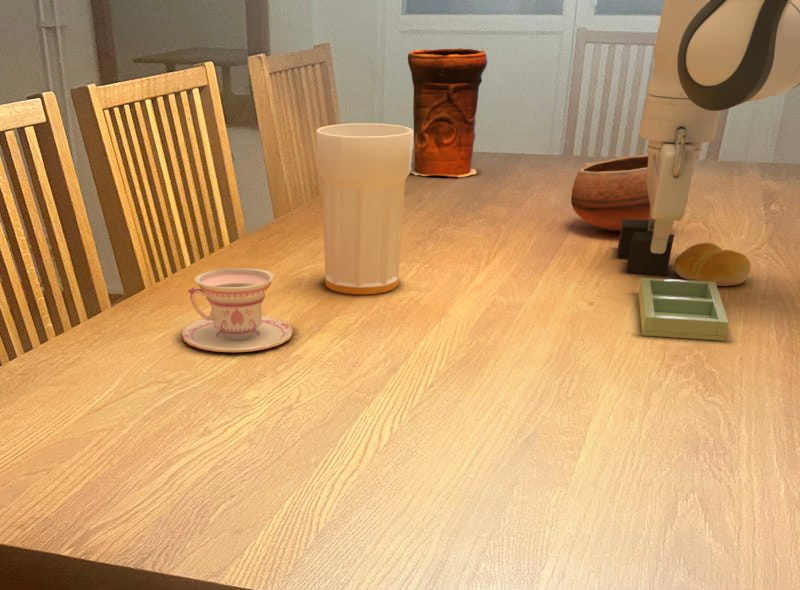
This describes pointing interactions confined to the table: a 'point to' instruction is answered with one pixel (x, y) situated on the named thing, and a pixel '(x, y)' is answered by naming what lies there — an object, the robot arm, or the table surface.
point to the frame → (682, 309)
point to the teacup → (235, 312)
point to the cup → (363, 203)
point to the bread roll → (712, 265)
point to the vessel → (445, 109)
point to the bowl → (612, 192)
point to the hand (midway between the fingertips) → (655, 243)
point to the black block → (629, 234)
